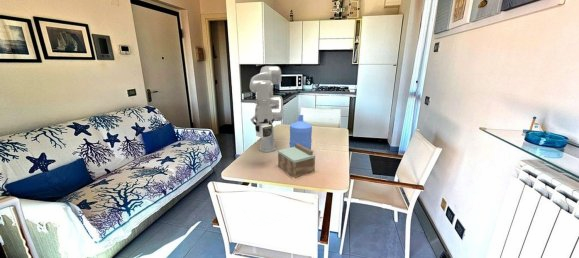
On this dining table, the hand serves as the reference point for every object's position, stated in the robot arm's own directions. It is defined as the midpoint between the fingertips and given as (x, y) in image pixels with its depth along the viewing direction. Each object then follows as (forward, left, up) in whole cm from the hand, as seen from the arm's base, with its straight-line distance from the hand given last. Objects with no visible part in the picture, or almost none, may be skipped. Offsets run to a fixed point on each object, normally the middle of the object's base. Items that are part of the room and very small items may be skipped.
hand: (263, 130), depth 147 cm
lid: (+16, +14, -14) cm, 25 cm away
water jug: (-4, +31, -23) cm, 39 cm away
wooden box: (+16, +14, -23) cm, 31 cm away
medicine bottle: (0, 0, -4) cm, 4 cm away
